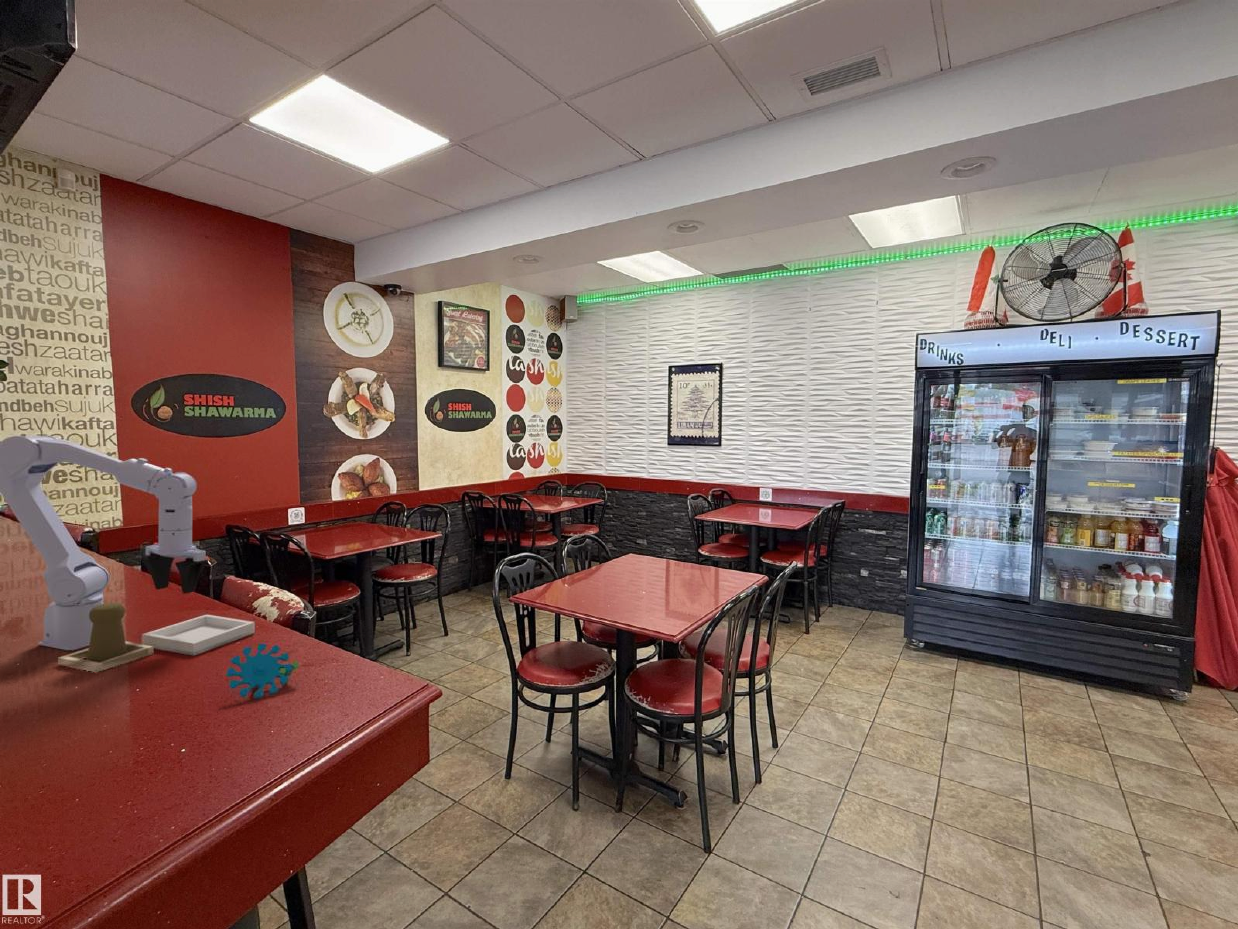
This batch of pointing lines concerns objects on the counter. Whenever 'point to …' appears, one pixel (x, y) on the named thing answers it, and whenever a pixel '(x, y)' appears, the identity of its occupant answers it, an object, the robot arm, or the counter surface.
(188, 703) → the counter surface
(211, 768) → the counter surface
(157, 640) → the tray
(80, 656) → the collar
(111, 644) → the cork
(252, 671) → the gear
